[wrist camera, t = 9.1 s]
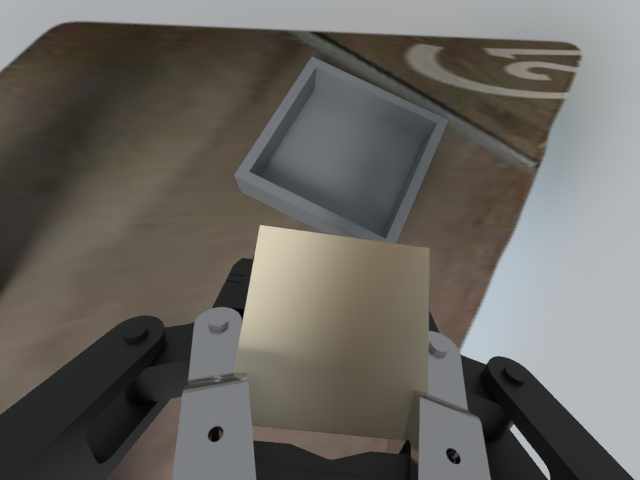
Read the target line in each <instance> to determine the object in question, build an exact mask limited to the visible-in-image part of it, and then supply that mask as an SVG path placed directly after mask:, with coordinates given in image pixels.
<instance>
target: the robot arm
mask: <svg viewBox="0 0 640 480" xmlns="http://www.w3.org/2000/svg"><path fill="white" fill-rule="evenodd" d="M254 256H255V254H254ZM254 256H253V259H245V258H242V259H241V260H239V261H238V262H237V263H235V264H234V265H233V267H232V269H231V271H230V274H229V275H228V277H227V279H226V282H225V283H224V285H223V287H222V289H221V291H220V293H219V295H218V297H217V299H216V301H215V303H214V305H213V307H212V309H209V310H207V311H205V312H203V313H202V314H201V315H200V316H199V317H198V318H197V319H196V321H195V322H194V323H190V324H186V325H180V326H172V327H165V328H164V324H163V322H162V321H161V320H160V319H158V318H156V317H153V316H138V317H133V318H130V319H128V320H125V321H123V322H122V323H120V324H118V325H117V326H116V327H114V328H113V329H112V330H110V331H109V332H108V333H106V334H105V335H104V336H102V337H101V338H100V339H99V340H97V341H96V342H95V343H93V344H92V345H91V346H89V347H88V348H87V349H86V350H84V351H83V352H82V353H80V354H79V355H78V356H76V357H75V358H74V359H73V360H71V361H70V362H69V363H67V364H66V365H65V366H63V367H62V368H61V369H59V370H58V371H57V372H56V373H54V374H53V375H52V376H50V377H49V378H48V379H46V380H45V381H44V382H43V383H41V384H40V385H39V386H37V387H36V388H35V389H33V390H32V391H31V392H29V393H28V394H27V395H26V396H24V397H23V398H22V399H20V400H19V401H18V402H16V403H15V404H14V405H13V406H11V407H10V408H9V409H7V410H6V411H5V412H3V413H2V414H1V415H0V480H105V479H106V478H107V477H108V475H109V474H110V473H111V472H112V470H113V469H114V468H115V467H116V466H117V464H118V463H119V462H120V461H121V459H122V458H123V457H124V456H125V454H126V453H127V452H128V451H129V450H130V448H131V447H132V446H133V445H134V443H135V442H136V441H137V440H138V438H139V437H140V436H141V435H142V434H143V432H144V431H145V430H146V429H147V427H148V426H149V425H150V424H151V422H152V421H153V420H154V419H155V418H156V416H157V415H158V414H159V413H160V411H161V410H162V409H163V408H164V406H165V405H166V404H167V403H168V401H169V400H170V399H171V398H175V397H180V396H182V402H181V410H180V419H179V427H178V435H177V444H176V452H175V460H174V469H173V477H172V480H548V479H547V478H546V477H545V475H544V474H543V473H542V472H541V470H540V469H539V467H538V466H537V465H536V463H535V462H534V461H533V459H532V458H531V457H530V456H529V454H528V453H527V452H526V450H525V449H524V448H523V447H522V445H521V444H520V443H519V441H518V440H517V439H516V437H515V436H514V435H513V433H512V432H511V431H510V428H511V427H512V425H514V424H515V426H516V427H517V428H518V430H519V431H520V432H521V433H522V435H523V436H524V437H525V438H526V440H527V441H528V442H529V444H530V445H531V446H532V447H533V449H534V450H535V451H536V452H537V453H538V455H539V456H540V458H541V459H542V460H543V461H544V463H545V464H546V466H547V468H548V470H549V473H550V478H551V479H550V480H634V479H633V478H632V477H631V476H630V475H629V474H628V473H627V472H626V471H625V470H624V469H623V468H622V467H621V466H620V465H619V464H618V463H617V462H616V460H615V459H614V458H613V457H612V456H611V455H610V454H609V453H608V452H607V451H606V450H605V449H604V448H603V447H602V446H601V445H600V444H599V443H598V442H597V441H596V440H595V439H594V438H593V437H592V436H591V435H590V434H589V433H588V432H587V430H586V429H584V427H583V426H582V425H581V424H580V423H579V422H578V421H577V420H576V419H575V418H574V417H573V416H572V415H571V414H570V413H569V412H568V411H567V410H566V409H565V408H564V407H563V406H562V405H561V404H560V403H559V402H558V401H557V400H556V399H555V398H554V397H553V395H552V394H551V393H550V392H549V391H548V390H547V389H546V388H545V387H544V386H543V385H542V384H541V383H540V382H539V381H538V380H537V379H536V378H535V377H534V376H533V375H532V374H531V373H530V372H529V371H528V370H527V369H526V368H525V367H523V366H522V365H520V364H519V363H517V362H515V361H513V360H511V359H509V358H505V357H500V356H497V357H493V358H491V359H490V360H489V362H488V363H487V365H486V364H483V363H480V362H478V361H475V360H473V359H470V358H467V357H465V356H462V355H461V354H460V352H459V350H458V348H457V346H456V345H455V344H454V343H453V342H452V341H451V340H450V339H448V338H447V337H445V336H444V335H442V334H440V333H439V331H438V329H437V327H436V324H435V322H434V320H433V318H432V315H431V313H430V311H429V355H428V393H425V392H420V391H416V390H414V393H413V397H412V402H411V406H410V411H409V415H408V420H407V424H406V429H405V433H404V438H403V440H395V439H388V442H387V447H386V451H385V453H382V452H371V451H370V452H366V453H361V454H357V455H353V456H348V457H344V458H340V459H335V460H329V459H326V458H323V457H321V456H318V455H316V454H314V453H311V452H309V451H306V450H304V449H301V448H299V447H296V446H294V445H291V444H285V443H274V442H263V441H253V434H252V422H251V409H250V397H249V385H248V376H247V374H246V373H233V372H234V366H235V361H236V355H237V350H238V344H239V339H240V333H241V328H242V322H243V317H244V311H245V306H246V300H247V295H248V289H249V284H250V278H251V273H252V267H253V262H254Z"/></svg>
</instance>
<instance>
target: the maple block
mask: <svg viewBox="0 0 640 480" xmlns="http://www.w3.org/2000/svg"><path fill="white" fill-rule="evenodd" d="M429 255H430V248H425V247H417V246H410V245H403V244H395V243H388V242H380V241H373V240H366V239H358V238H351V237H343V236H336V235H329V234H321V233H314V232H307V231H299V230H292V229H284V228H277V227H270V226H262V225H260V229H259V234H258V240H257V245H256V251H255V256H254V262H253V267H252V273H251V278H250V284H249V289H248V295H247V300H246V306H245V311H244V317H243V322H242V328H241V333H240V339H239V344H238V350H237V355H236V361H235V366H234V372H233V373H246V374H247V376H248V385H249V397H250V409H251V422H252V426H262V427H273V428H283V429H293V430H303V431H313V432H323V433H334V434H344V435H354V436H364V437H374V438H384V439H395V440H403V438H404V433H405V429H406V424H407V420H408V415H409V411H410V406H411V402H412V397H413V393H414V390H416V391H420V392H425V393H428V355H429Z"/></svg>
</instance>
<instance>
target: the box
mask: <svg viewBox="0 0 640 480" xmlns="http://www.w3.org/2000/svg"><path fill="white" fill-rule="evenodd" d="M448 121H449V120H447V119H445V118H443V117H441V116H439V115H436V114H434V113H432V112H430V111H428V110H426V109H424V108H421V107H419V106H417V105H415V104H413V103H411V102H409V101H406V100H404V99H402V98H400V97H398V96H396V95H393V94H391V93H389V92H387V91H385V90H383V89H381V88H378V87H376V86H374V85H372V84H370V83H368V82H366V81H363V80H361V79H359V78H357V77H355V76H353V75H350V74H348V73H346V72H344V71H342V70H340V69H338V68H335V67H333V66H331V65H329V64H327V63H325V62H323V61H320V60H318V59H316V58H314V57H311V59H310V60H309V62H308V63H307V65H306V66H305V68H304V69H303V71H302V72H301V74H300V76H299V77H298V79H297V80H296V82H295V83H294V85H293V86H292V88H291V89H290V91H289V92H288V94H287V95H286V97H285V98H284V100H283V101H282V103H281V104H280V106H279V108H278V109H277V111H276V112H275V114H274V115H273V117H272V118H271V120H270V121H269V123H268V124H267V126H266V127H265V129H264V130H263V132H262V133H261V135H260V137H259V138H258V140H257V141H256V143H255V144H254V146H253V147H252V149H251V150H250V152H249V153H248V155H247V156H246V158H245V159H244V161H243V162H242V164H241V166H240V167H239V169H238V170H237V172H236V173H235V175H234V177H235V179H236V181H237V184H238V186H239V188H240V190H241V193H243V194H245V195H247V196H249V197H251V198H253V199H255V200H257V201H259V202H261V203H263V204H265V205H267V206H269V207H271V208H273V209H275V210H277V211H279V212H281V213H283V214H285V215H287V216H289V217H291V218H293V219H295V220H297V221H299V222H301V223H303V224H305V225H307V226H309V227H311V228H313V229H315V230H317V231H319V232H321V233H323V234H329V235H336V236H343V237H351V238H358V239H366V240H373V241H380V242H388V243H395V244H396V243H397V240H398V238H399V236H400V233H401V231H402V229H403V226H404V224H405V222H406V219H407V217H408V215H409V212H410V210H411V207H412V205H413V203H414V200H415V198H416V196H417V193H418V191H419V189H420V186H421V184H422V182H423V179H424V177H425V175H426V172H427V170H428V168H429V165H430V163H431V161H432V158H433V156H434V154H435V151H436V149H437V147H438V144H439V142H440V140H441V137H442V135H443V132H444V130H445V128H446V125H447V123H448Z"/></svg>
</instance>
